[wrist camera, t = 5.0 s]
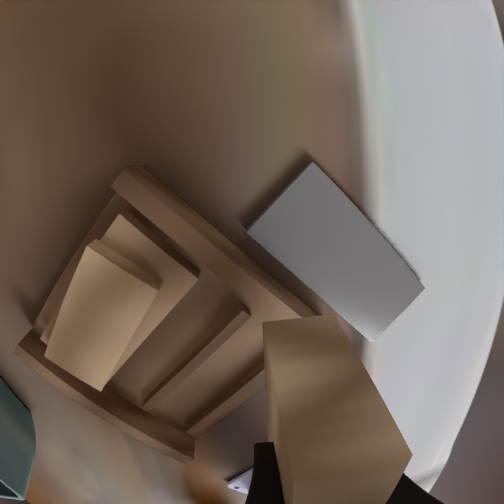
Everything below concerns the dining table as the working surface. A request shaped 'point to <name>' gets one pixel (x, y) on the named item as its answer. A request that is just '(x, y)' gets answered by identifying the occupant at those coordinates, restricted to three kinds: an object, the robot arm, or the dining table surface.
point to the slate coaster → (336, 252)
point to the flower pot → (15, 445)
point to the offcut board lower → (153, 261)
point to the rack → (177, 328)
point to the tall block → (327, 417)
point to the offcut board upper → (100, 314)
